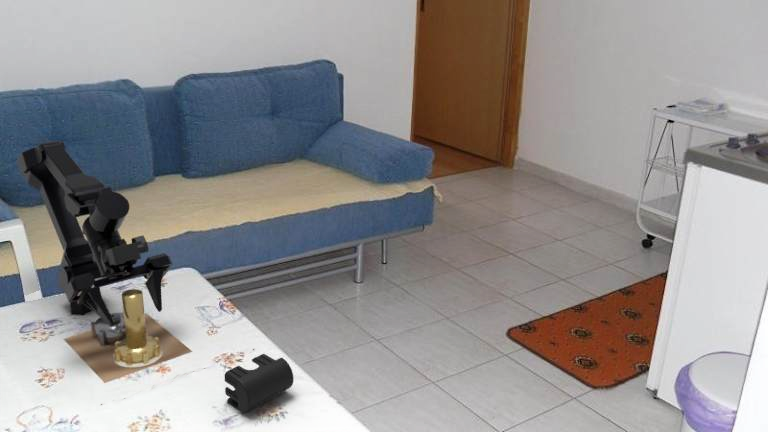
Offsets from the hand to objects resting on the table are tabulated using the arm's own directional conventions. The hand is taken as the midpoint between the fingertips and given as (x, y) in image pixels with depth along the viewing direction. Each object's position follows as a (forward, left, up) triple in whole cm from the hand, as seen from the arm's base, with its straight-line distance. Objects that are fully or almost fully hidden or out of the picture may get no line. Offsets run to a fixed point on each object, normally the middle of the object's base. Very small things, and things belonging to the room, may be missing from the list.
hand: (136, 318), depth 139 cm
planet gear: (-1, -1, -8) cm, 8 cm away
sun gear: (-7, -8, -8) cm, 13 cm away
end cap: (+8, +25, -10) cm, 28 cm away
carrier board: (-4, -4, -10) cm, 11 cm away
